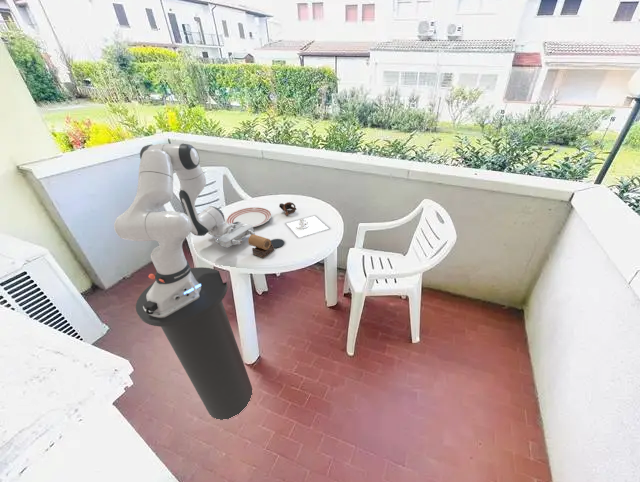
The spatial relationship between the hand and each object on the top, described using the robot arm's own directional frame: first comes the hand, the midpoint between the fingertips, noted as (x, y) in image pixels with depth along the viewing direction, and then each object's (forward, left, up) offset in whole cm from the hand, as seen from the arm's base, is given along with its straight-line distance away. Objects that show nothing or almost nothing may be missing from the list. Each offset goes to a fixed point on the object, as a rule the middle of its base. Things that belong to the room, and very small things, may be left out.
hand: (247, 238), depth 150 cm
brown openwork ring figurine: (+45, +8, -6) cm, 46 cm away
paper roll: (0, -8, 0) cm, 8 cm away
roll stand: (0, -10, -6) cm, 11 cm away
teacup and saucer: (+35, -14, -6) cm, 38 cm away
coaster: (+10, -10, -6) cm, 15 cm away
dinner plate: (+24, +22, -6) cm, 33 cm away
